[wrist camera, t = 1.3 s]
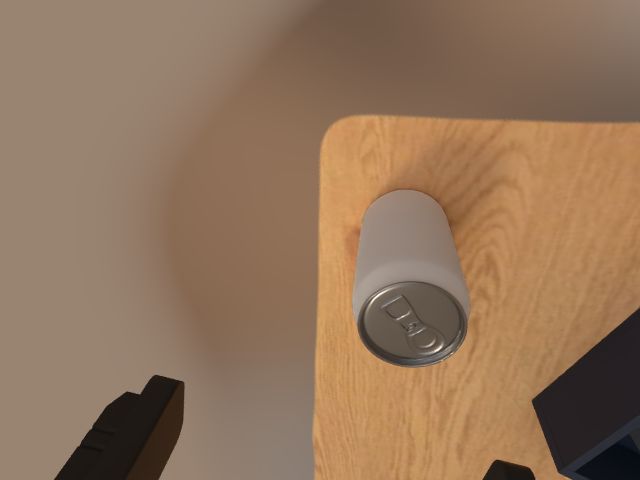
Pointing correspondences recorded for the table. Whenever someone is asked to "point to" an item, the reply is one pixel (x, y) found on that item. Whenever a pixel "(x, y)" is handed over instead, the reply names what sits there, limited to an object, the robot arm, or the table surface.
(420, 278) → the can
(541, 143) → the table surface
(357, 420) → the table surface
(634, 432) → the grey block
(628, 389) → the crate
